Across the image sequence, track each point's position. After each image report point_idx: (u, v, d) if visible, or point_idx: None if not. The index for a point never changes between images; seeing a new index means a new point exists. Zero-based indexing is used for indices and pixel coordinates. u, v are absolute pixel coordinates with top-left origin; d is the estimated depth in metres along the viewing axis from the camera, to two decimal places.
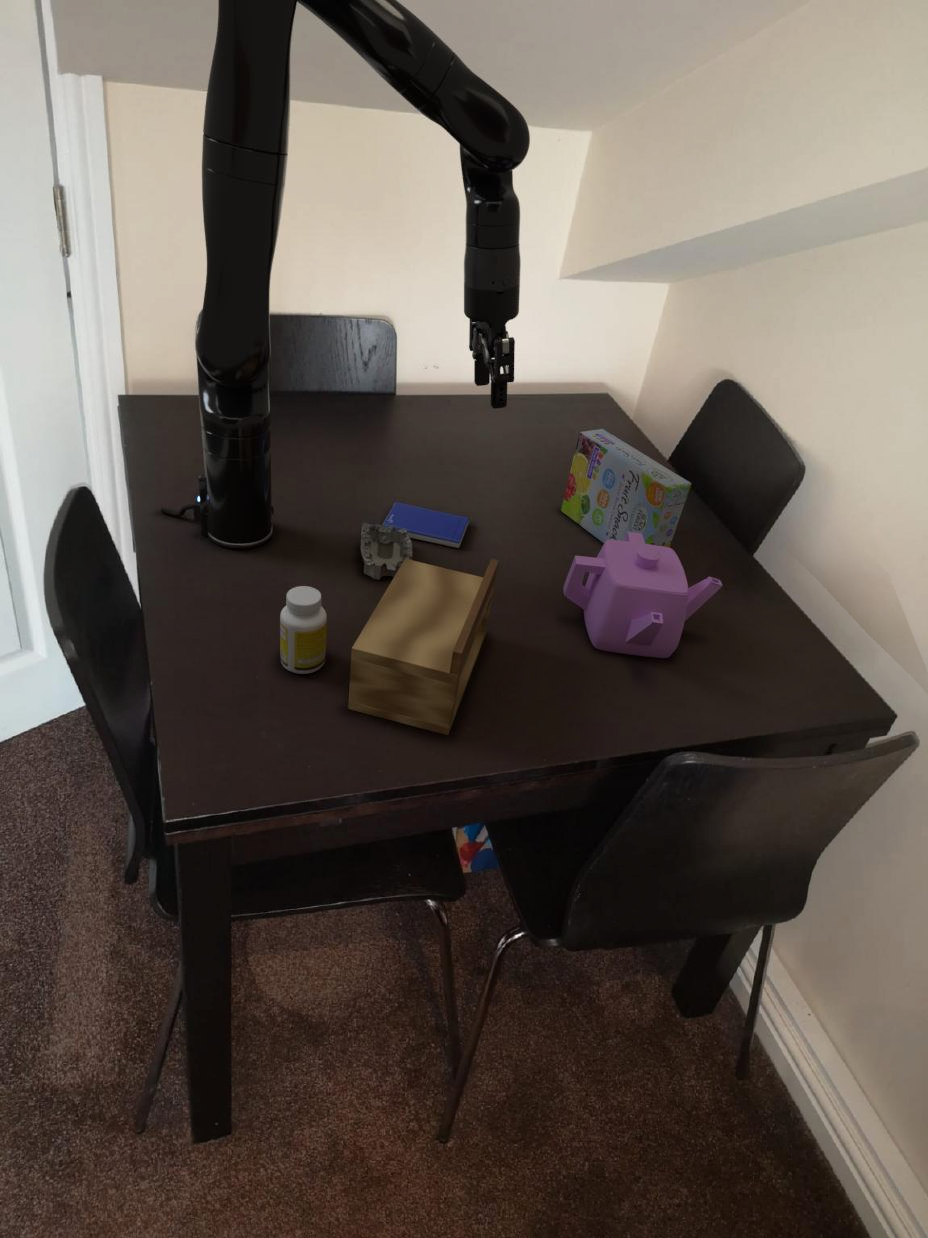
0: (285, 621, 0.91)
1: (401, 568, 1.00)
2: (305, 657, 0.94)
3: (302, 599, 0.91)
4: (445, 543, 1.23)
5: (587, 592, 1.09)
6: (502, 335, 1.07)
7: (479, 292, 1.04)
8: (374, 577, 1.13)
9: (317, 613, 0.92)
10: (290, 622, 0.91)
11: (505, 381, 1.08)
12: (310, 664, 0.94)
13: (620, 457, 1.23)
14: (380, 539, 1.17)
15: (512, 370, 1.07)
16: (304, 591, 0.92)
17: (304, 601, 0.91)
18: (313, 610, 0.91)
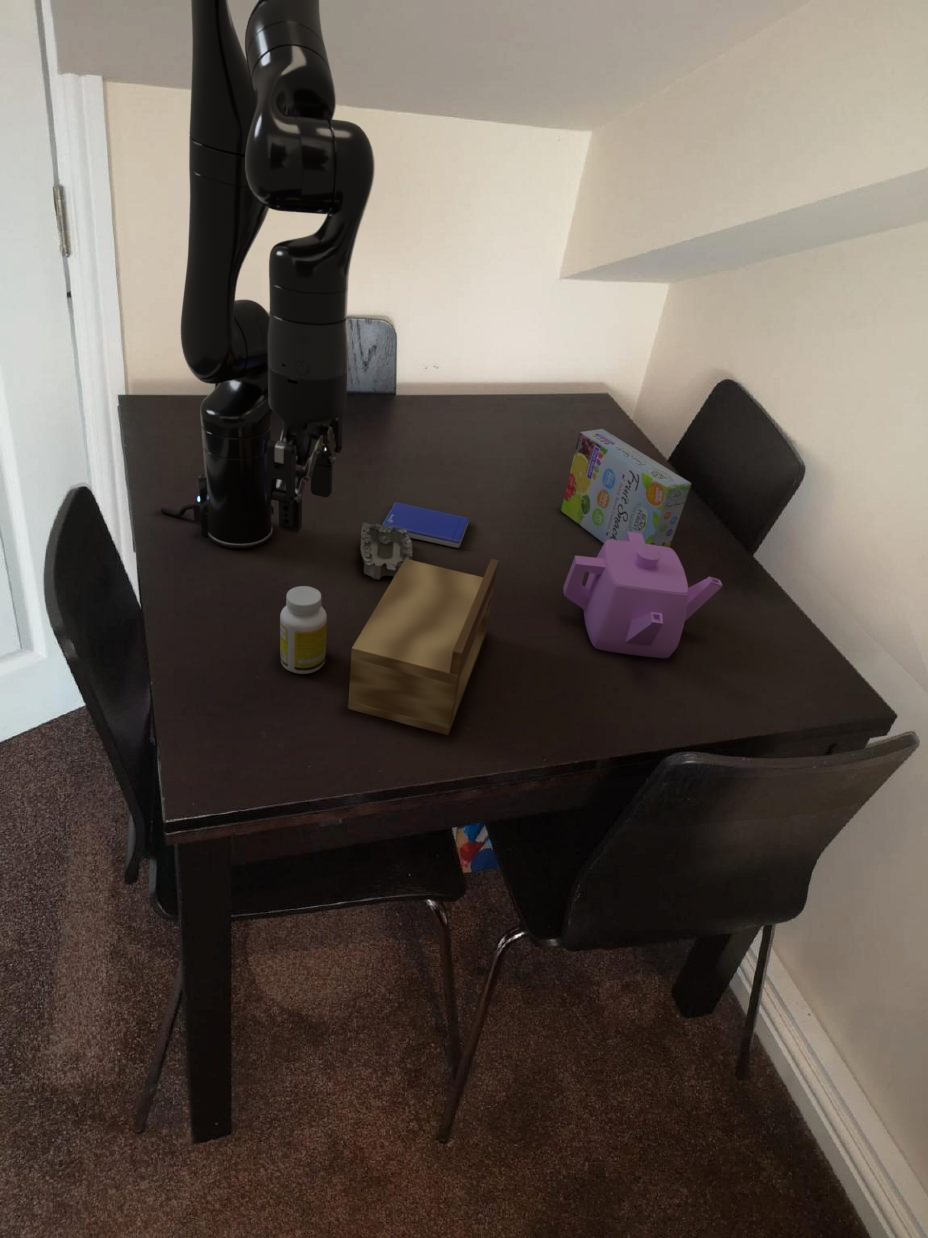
0: (285, 621, 0.91)
1: (401, 568, 1.00)
2: (305, 657, 0.94)
3: (302, 599, 0.91)
4: (445, 543, 1.23)
5: (587, 592, 1.09)
6: (291, 439, 0.76)
7: (271, 373, 0.74)
8: (374, 577, 1.13)
9: (317, 613, 0.92)
10: (290, 622, 0.91)
11: (278, 500, 0.77)
12: (310, 664, 0.94)
13: (621, 457, 1.23)
14: (380, 539, 1.17)
15: (287, 489, 0.76)
16: (304, 591, 0.92)
17: (304, 601, 0.91)
18: (313, 610, 0.91)
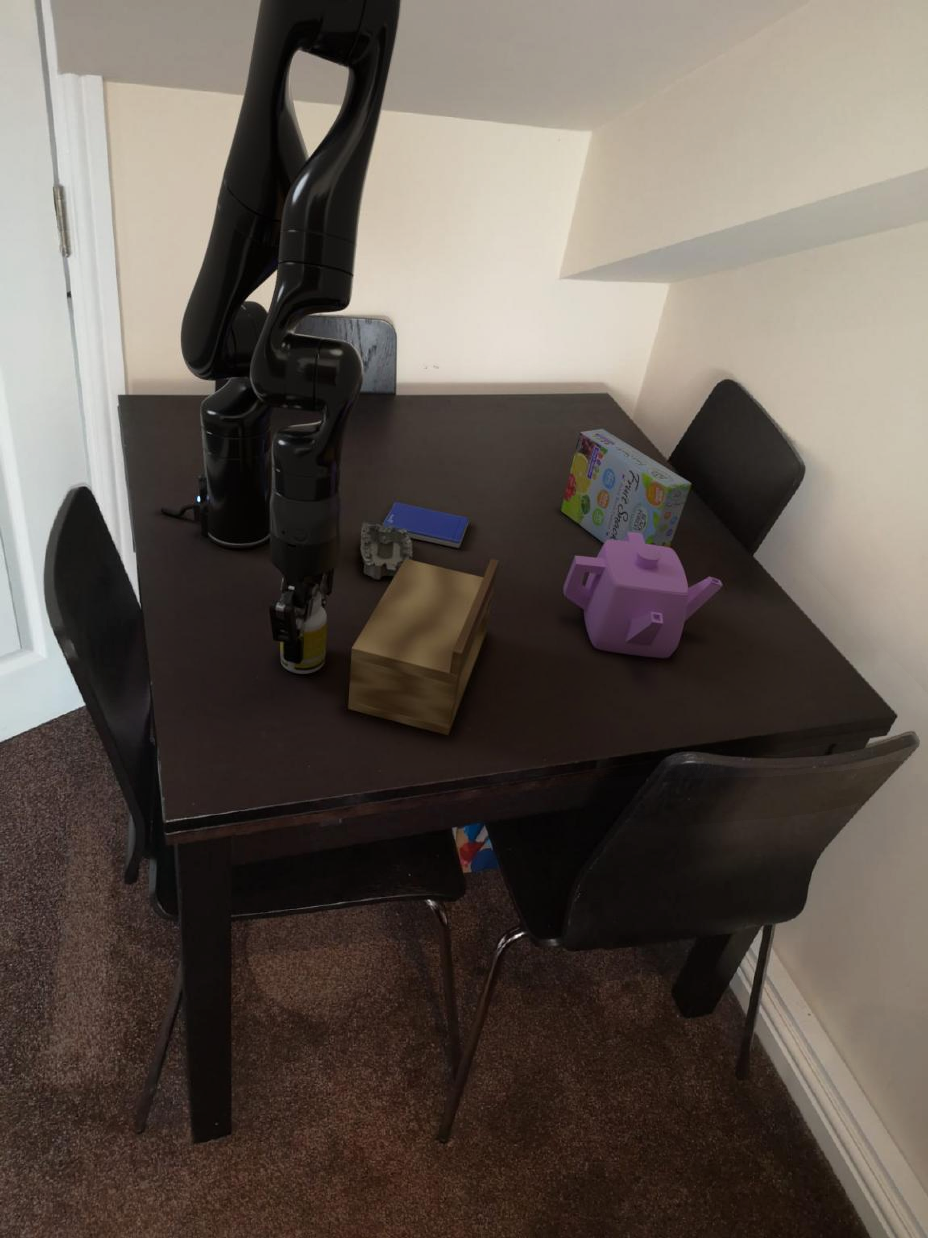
0: None
1: (401, 568, 1.00)
2: (305, 657, 0.94)
3: None
4: (445, 543, 1.23)
5: (587, 592, 1.09)
6: (290, 594, 0.86)
7: (272, 536, 0.84)
8: (374, 577, 1.13)
9: (317, 613, 0.92)
10: None
11: (283, 642, 0.88)
12: (310, 664, 0.94)
13: (621, 457, 1.23)
14: (380, 539, 1.17)
15: (290, 637, 0.87)
16: None
17: None
18: (313, 610, 0.91)
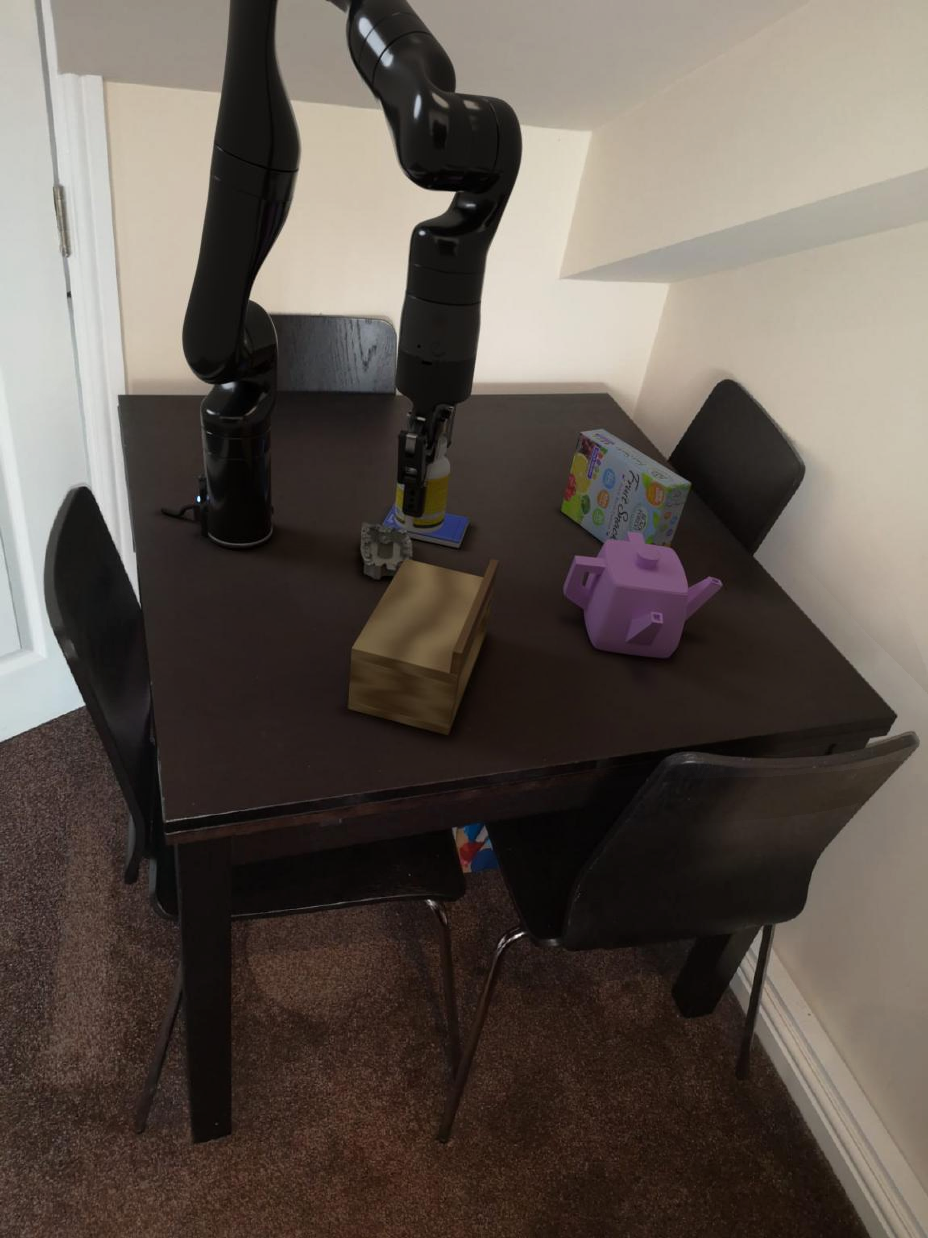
0: None
1: (401, 568, 1.00)
2: (426, 512, 0.83)
3: None
4: (445, 543, 1.23)
5: (587, 592, 1.09)
6: (420, 425, 0.75)
7: (403, 354, 0.74)
8: (374, 577, 1.13)
9: (441, 459, 0.82)
10: None
11: (409, 484, 0.78)
12: (430, 520, 0.84)
13: (621, 457, 1.23)
14: (380, 539, 1.17)
15: (418, 476, 0.77)
16: None
17: None
18: (439, 453, 0.80)
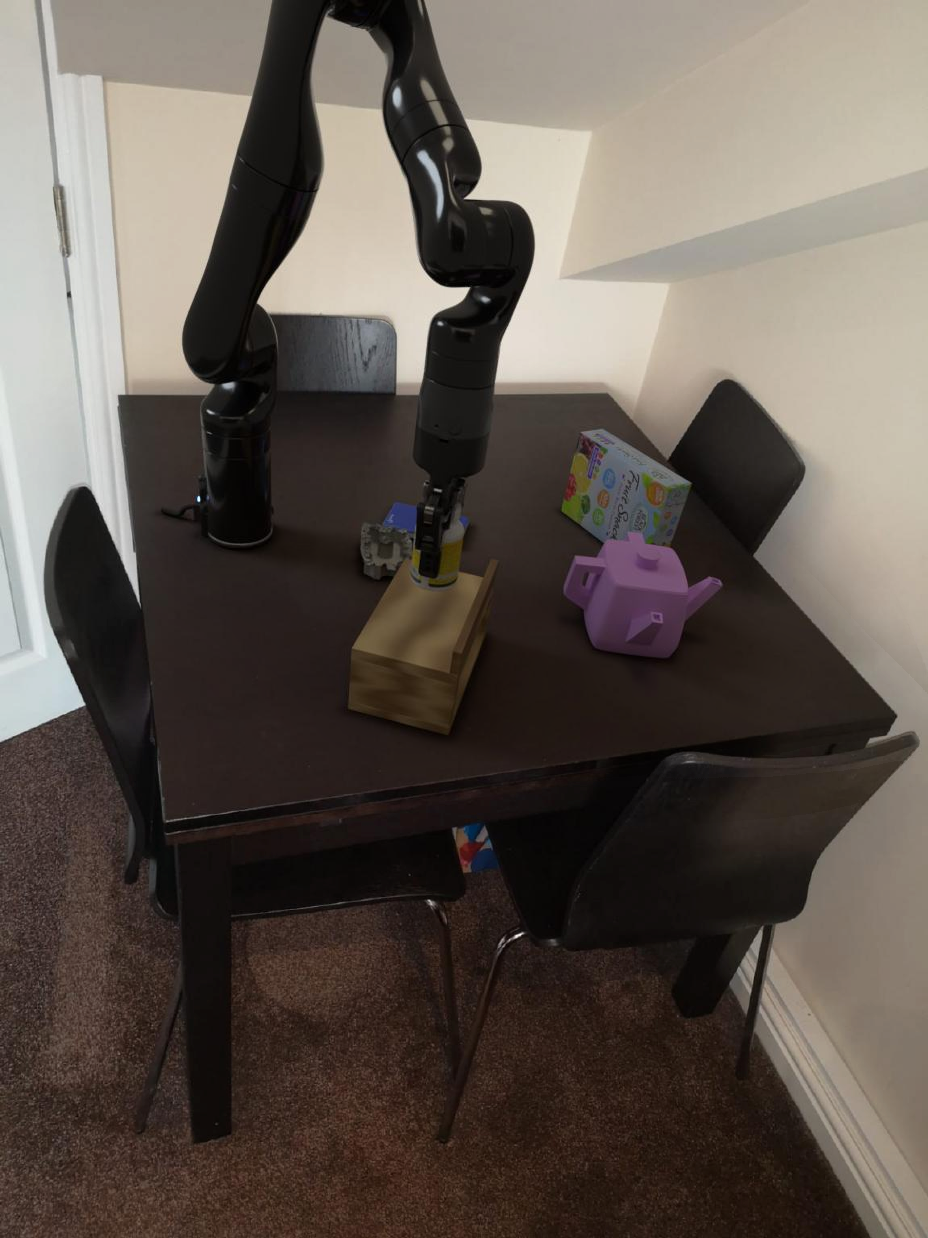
0: None
1: (401, 568, 1.00)
2: (441, 573, 0.88)
3: None
4: None
5: (587, 592, 1.09)
6: (437, 497, 0.80)
7: (421, 432, 0.78)
8: (374, 577, 1.13)
9: (456, 524, 0.86)
10: None
11: (426, 550, 0.82)
12: (445, 580, 0.88)
13: (621, 457, 1.23)
14: (380, 539, 1.17)
15: (435, 544, 0.81)
16: None
17: None
18: (454, 519, 0.85)
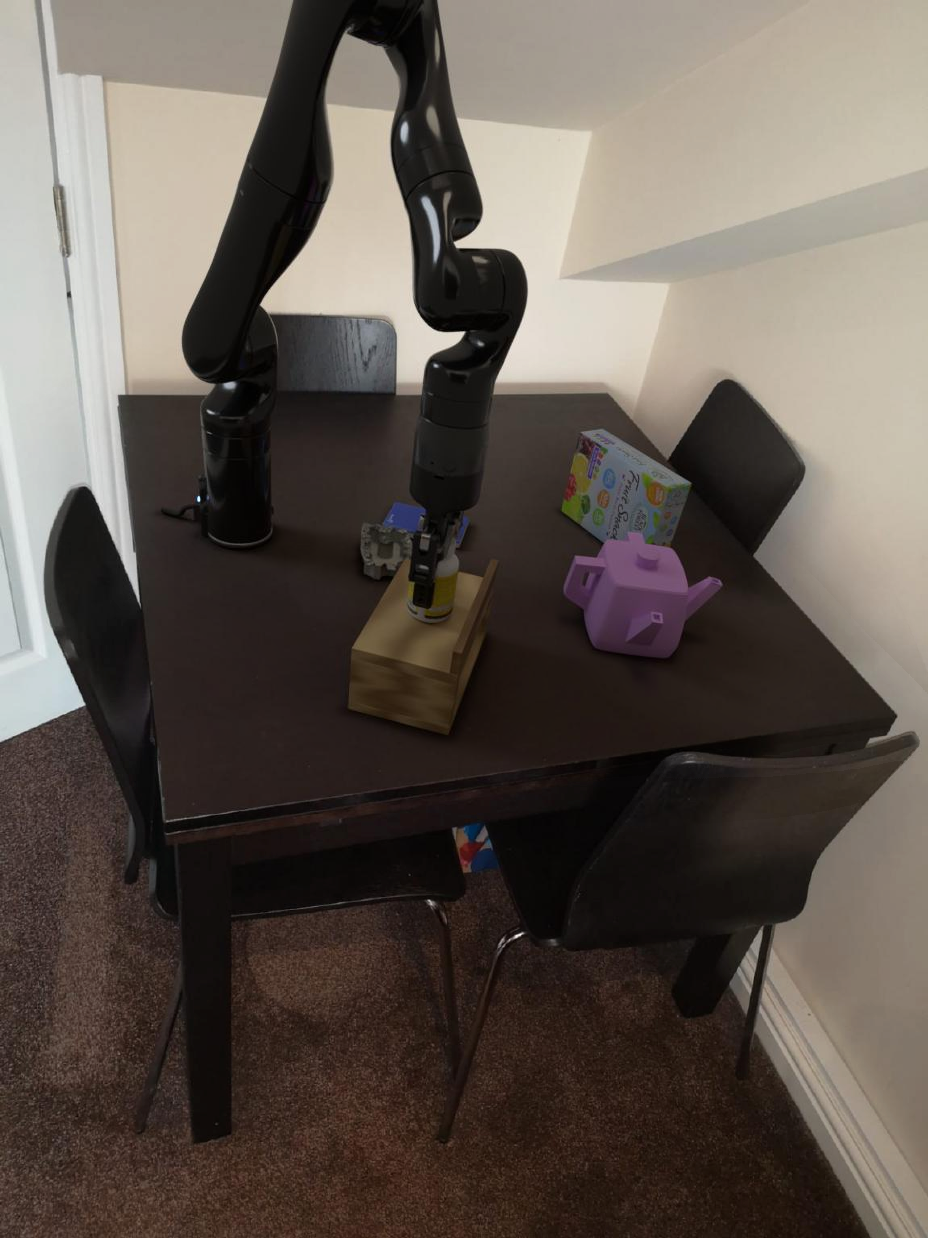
0: None
1: (401, 568, 1.00)
2: (436, 605, 0.90)
3: None
4: None
5: (587, 592, 1.09)
6: (433, 527, 0.82)
7: (417, 468, 0.81)
8: (374, 577, 1.13)
9: (451, 558, 0.89)
10: (425, 566, 0.88)
11: (419, 582, 0.83)
12: (440, 612, 0.91)
13: (621, 457, 1.23)
14: (380, 539, 1.17)
15: (429, 574, 0.82)
16: None
17: None
18: (449, 554, 0.88)
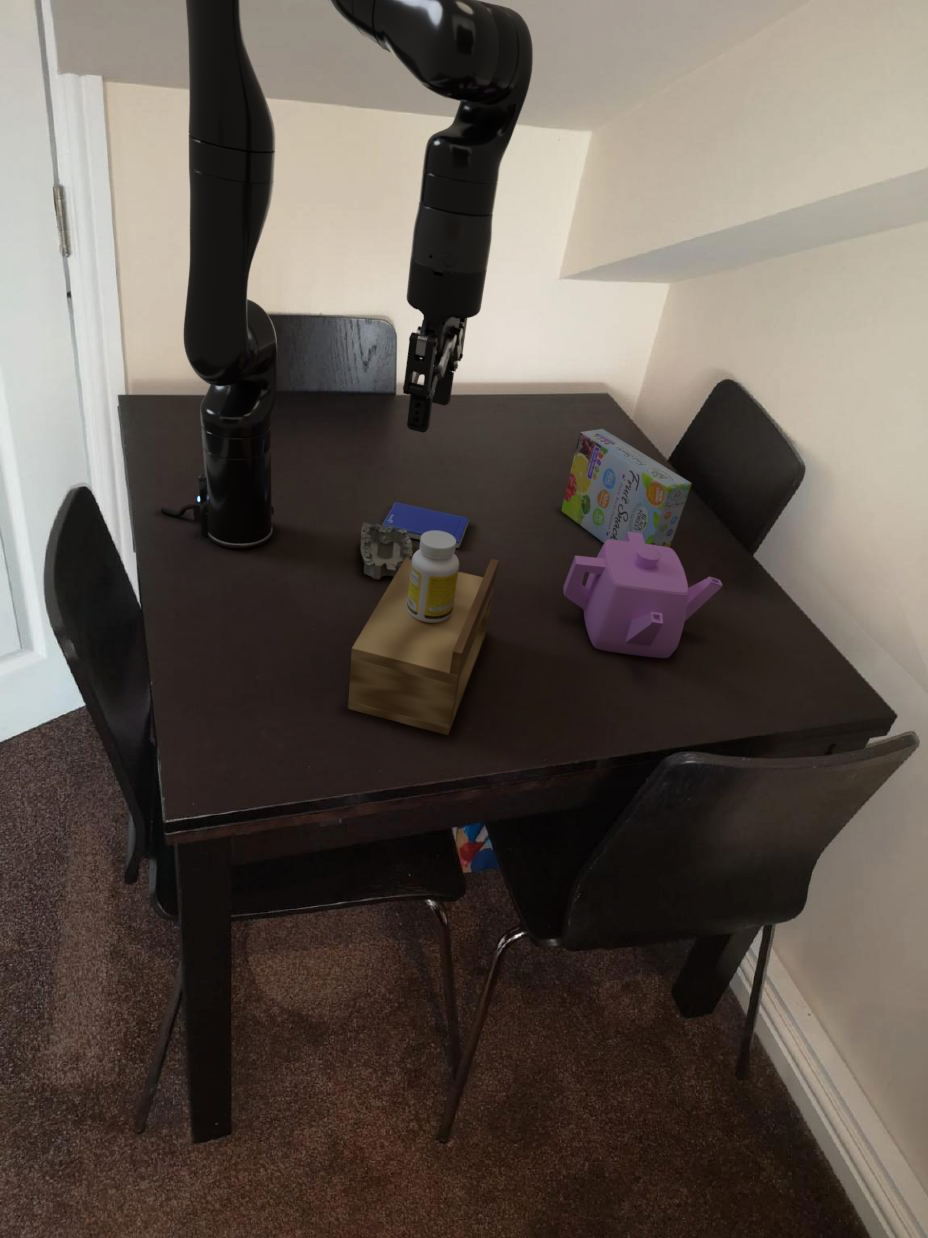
0: (419, 566, 0.88)
1: (401, 568, 1.00)
2: (436, 605, 0.90)
3: (437, 543, 0.87)
4: None
5: (587, 592, 1.09)
6: (431, 333, 0.77)
7: (415, 266, 0.76)
8: (374, 577, 1.13)
9: (451, 558, 0.89)
10: (425, 566, 0.88)
11: (415, 394, 0.78)
12: (440, 612, 0.91)
13: (621, 457, 1.23)
14: (380, 539, 1.17)
15: (425, 382, 0.77)
16: (438, 535, 0.89)
17: (440, 544, 0.87)
18: (449, 554, 0.88)
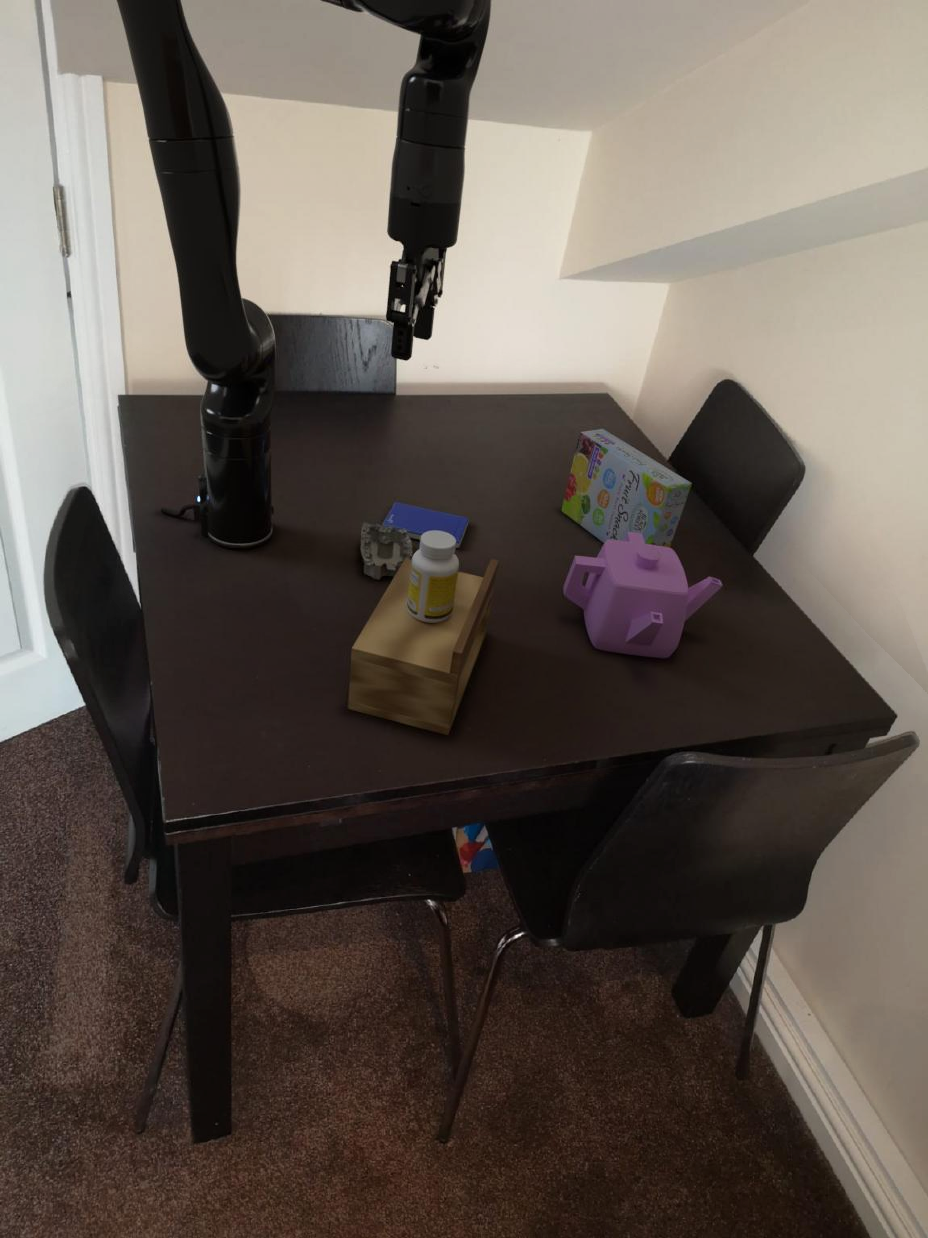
0: (419, 566, 0.88)
1: (401, 568, 1.00)
2: (436, 605, 0.90)
3: (437, 543, 0.87)
4: None
5: (587, 592, 1.09)
6: (410, 262, 0.83)
7: (394, 199, 0.81)
8: (374, 577, 1.13)
9: (451, 558, 0.89)
10: (425, 566, 0.88)
11: (397, 320, 0.84)
12: (440, 612, 0.91)
13: (621, 457, 1.23)
14: (380, 539, 1.17)
15: (406, 308, 0.83)
16: (438, 535, 0.89)
17: (440, 544, 0.87)
18: (449, 554, 0.88)
